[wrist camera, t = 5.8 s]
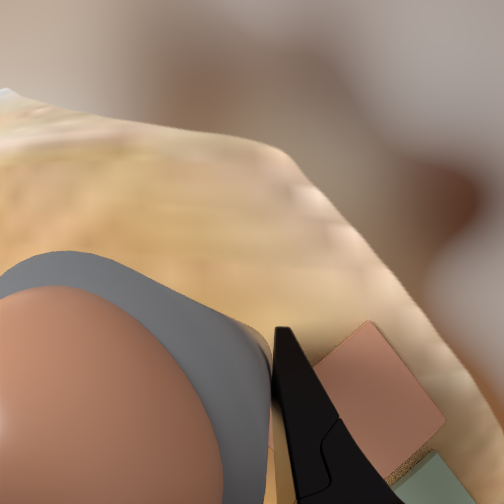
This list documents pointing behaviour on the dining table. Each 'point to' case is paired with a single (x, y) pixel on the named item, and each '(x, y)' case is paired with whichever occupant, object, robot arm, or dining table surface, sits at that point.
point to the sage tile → (431, 484)
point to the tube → (126, 390)
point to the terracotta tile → (377, 399)
